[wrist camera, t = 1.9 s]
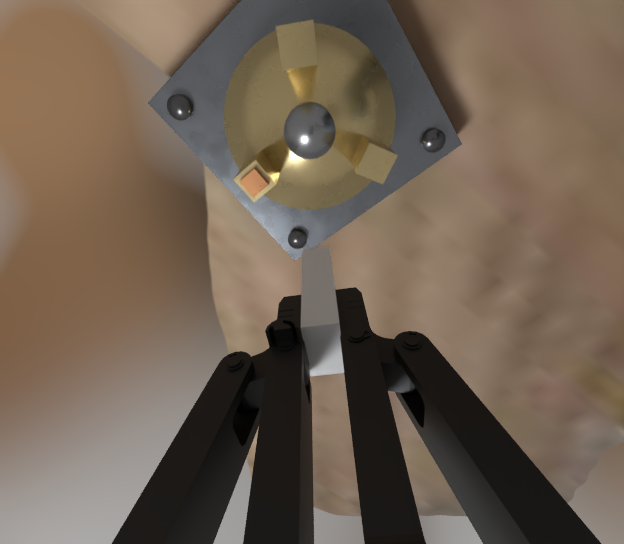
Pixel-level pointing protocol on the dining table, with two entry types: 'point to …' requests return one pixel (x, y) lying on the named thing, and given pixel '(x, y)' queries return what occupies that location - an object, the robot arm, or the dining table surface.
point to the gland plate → (218, 72)
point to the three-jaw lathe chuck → (309, 117)
